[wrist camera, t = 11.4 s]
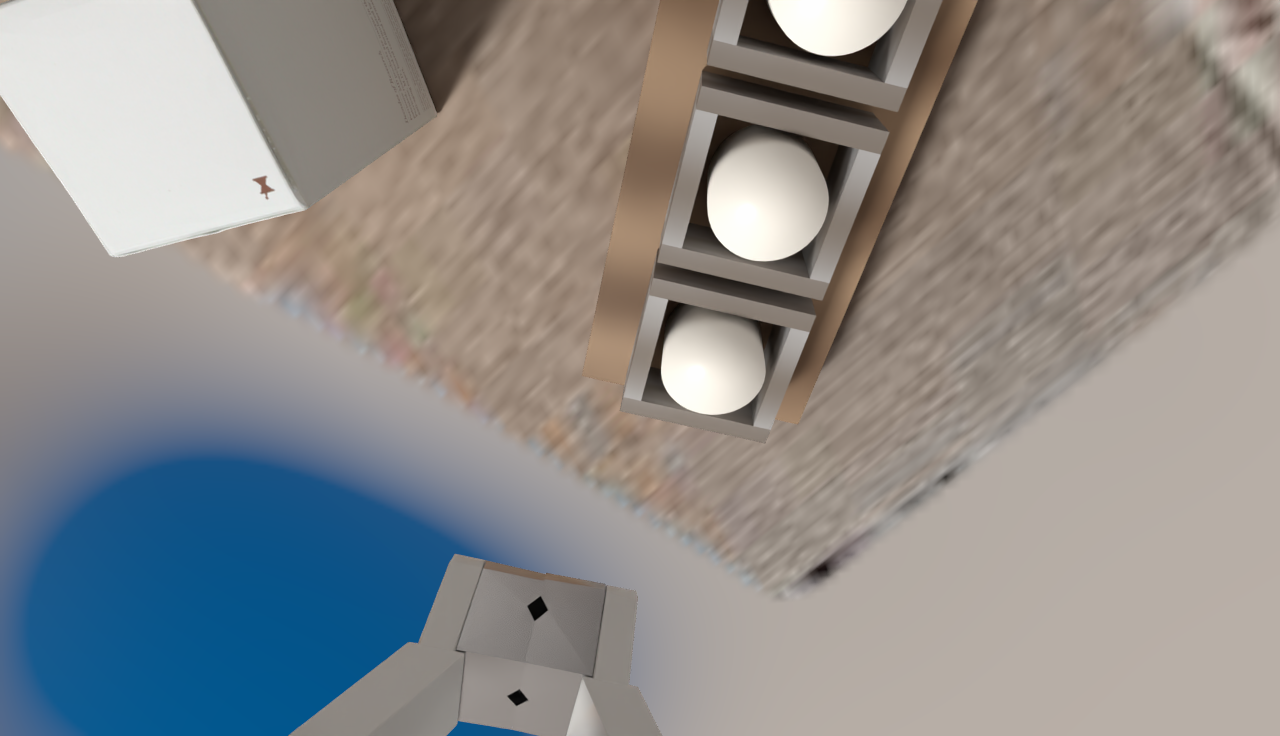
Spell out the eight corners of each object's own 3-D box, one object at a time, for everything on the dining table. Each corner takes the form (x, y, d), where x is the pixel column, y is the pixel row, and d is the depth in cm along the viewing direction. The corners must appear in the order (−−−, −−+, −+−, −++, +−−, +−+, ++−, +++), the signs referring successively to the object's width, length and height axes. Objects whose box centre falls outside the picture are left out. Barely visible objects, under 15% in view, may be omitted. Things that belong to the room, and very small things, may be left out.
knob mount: (703, -197, 26) (703, -225, 20) (997, -118, 26) (1068, -127, 21) (590, 345, 38) (572, 411, 33) (791, 390, 38) (805, 462, 33)
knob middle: (723, 111, 28) (726, 132, 25) (833, 138, 28) (846, 161, 25) (695, 217, 30) (694, 246, 27) (796, 241, 30) (804, 272, 28)
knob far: (677, 282, 32) (675, 316, 29) (773, 304, 32) (779, 340, 29) (655, 364, 34) (650, 402, 31) (744, 384, 34) (748, 424, 32)
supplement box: (370, -70, 28) (169, -63, 18) (442, 118, 32) (311, 218, 21) (211, -19, 30) (-63, 16, 19) (298, 155, 34) (108, 266, 23)
